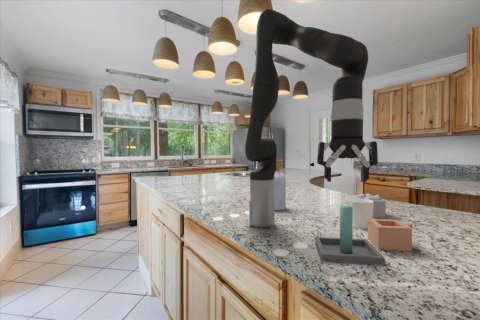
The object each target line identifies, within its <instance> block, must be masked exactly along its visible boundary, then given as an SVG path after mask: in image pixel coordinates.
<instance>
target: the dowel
mask: <svg viewBox="0 0 480 320" xmlns="http://www.w3.org/2000/svg"><path fill="white" fill-rule="evenodd" d="M352 218H353V207H352V206H349V205H345V204H344V205H340V206H339V238H340V252H341V253H343V254H352V239H353V226H352Z"/></svg>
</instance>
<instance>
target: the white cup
mask: <svg viewBox="0 0 480 320" xmlns="http://www.w3.org/2000/svg"><path fill="white" fill-rule="evenodd" d="M373 205H374V201H372V200H369V199H362V198H355V197H354V198H349V199H348V206H352V207H353V218H352V228H356V229H365V230H366V229H367V230H368V219H373Z"/></svg>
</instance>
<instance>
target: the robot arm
mask: <svg viewBox="0 0 480 320" xmlns="http://www.w3.org/2000/svg"><path fill="white" fill-rule="evenodd" d="M255 33H256V34H255V36H256V37H255V69H254V77H253V78H254V79H253V84H252V86H253V87H252V92H251V93H252V96H251V108H250V109H251V110H250V117H249V123H248V128H247V132H246V133H247V135H246V138H245V146H244V153H245V157H246V160H248V161H249V162H259V165H258V166H257V167H256V168H255V169H253V170H252V171H250V172H249V200H248V201H249V202H248V203H249V214H248V215H249V217H248V218H249V219H248V220H249V226H253V227H256V228H269V227H274V225H275V224H276V222H275V219H276V217H275V214H276V212H275V207H274V175H275V172H276V160H278V159H277V157H278V156H277V155H278V149H277V143H276V141H275V139H274V138H272V137H269V136H262V135H263V129H264V126H265V123H266V121H267V119H268V118H269V116H270V115H271V113H272V112H273V110H274V109H275V107H276V105H277V104H278V103H277V102H278V99H279V93H280V92H279V91H280V78H279V74H278V71H277V68H276V65H275V62H274V59H273V58H274V57H273V44H274V45H284V46H291V47H294V48H296V49H298V50H299V51H300V52H302V53H304V54H306V55H308V56H310V57H313V58H315V59H318V60H321V61H323V62H325V63H327V64H328V65H330V66H334V67H335V68H338V69H339V68H340V69H341V73H340V77H338V78H337V79H335V80H334V82H333V84H332V103H331V104H332V105H331V112H330V114H331V115H330V128H331V129H330V141H329V142H324V141H321V142H318V144H317V145H318V147H317V156H316V157H317V159H316V163H317V164H318V165H320V166H323V168H324V169H323V170H324V171H323V173H324V175H323V177H324V179H325V180H326V182H327V183H328V182H330V183H331V182H332V167H331V166H332V165H333V163H334V162H335V161H337V159H356V160H357V161H358V162H359V163H360V165H361V167H360V182H362V183H367V181H368V180H369V179H370V168H371V167H372V166H377V165H378V164H379V157H378V143H377V141H376V140H375V141H374V140H373V141H369V142H368V141H367V142H365V141H364V104H363V93H364V91H363V83H364V79H365V76H366V72H367V68H368V63H369V52H368V48H367V46H366V45H365V44H364V43H362V42H361V41H358V40H357V39H355V38H353V37H351V36H348V35H344V34H341V33H334V32H330V31H327V30H324V29H322V28H321V29H320V28H318V27H313V26H303V25H300V24H298V23H297V22H295V21H294V20H292V19H291V18H289V17H288V16H287V15H285V14H283V13H281V12H280V11H276V10H275V9H271V8H265V9H263V10H262V11H261V13H260V15H259V17H258V19H257V23H256V30H255ZM328 148H330V150H331V151H332V152H331V154H330V155H329V156H328V158H327V160H326V161H325V151H327V149H328ZM364 148H366V150H367V151H368V159H366V156H365V155H364V154H363V153H362V151H363V150H364Z"/></svg>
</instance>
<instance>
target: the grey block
mask: <svg viewBox="0 0 480 320" xmlns="http://www.w3.org/2000/svg"><path fill="white" fill-rule="evenodd" d="M354 198H362V199H369V200H372V201H374V205H373V218H374V219H377V218H384V219H386V208H387V207H386V199H384V198H382V196H381V195H379V194H375V195H372V194H370V193H365V194H364V193H359V194H357V195H354Z"/></svg>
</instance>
